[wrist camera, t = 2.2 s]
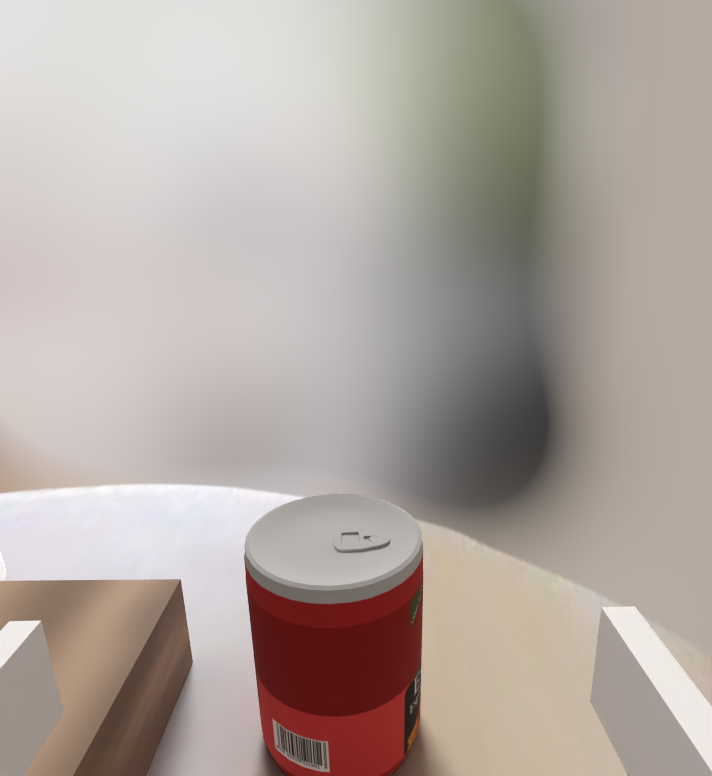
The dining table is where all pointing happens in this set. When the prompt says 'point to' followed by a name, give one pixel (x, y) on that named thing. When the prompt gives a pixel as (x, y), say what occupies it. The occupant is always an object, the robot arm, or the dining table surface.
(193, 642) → the dining table surface
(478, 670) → the dining table surface
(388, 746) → the canned food
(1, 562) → the bottle
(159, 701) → the walnut box
